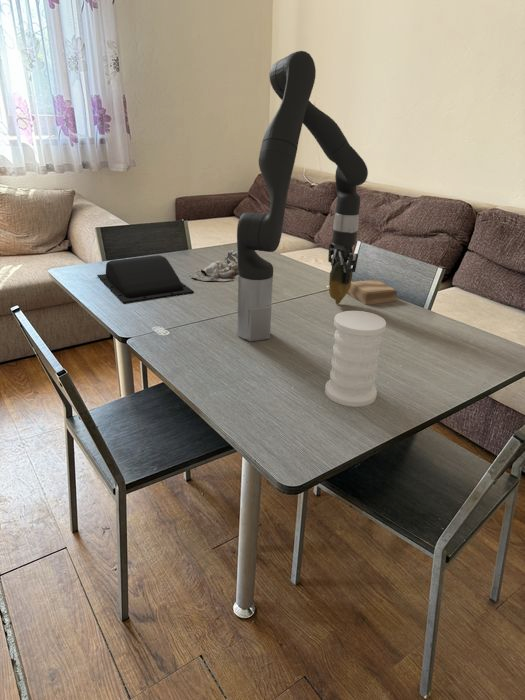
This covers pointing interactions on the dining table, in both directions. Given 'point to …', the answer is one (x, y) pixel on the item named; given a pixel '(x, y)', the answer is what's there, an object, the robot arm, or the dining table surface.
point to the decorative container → (355, 358)
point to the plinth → (372, 292)
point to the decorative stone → (338, 283)
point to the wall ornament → (220, 269)
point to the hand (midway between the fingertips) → (339, 280)
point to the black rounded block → (142, 279)
